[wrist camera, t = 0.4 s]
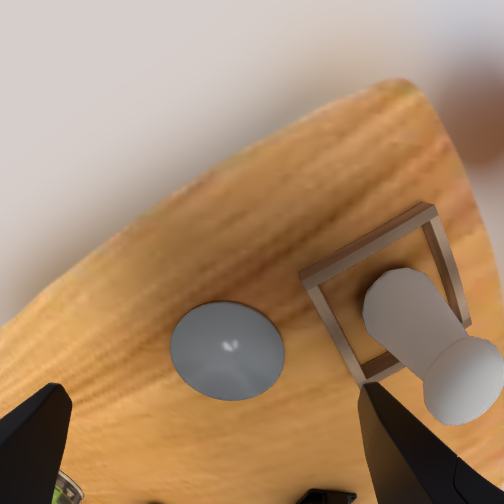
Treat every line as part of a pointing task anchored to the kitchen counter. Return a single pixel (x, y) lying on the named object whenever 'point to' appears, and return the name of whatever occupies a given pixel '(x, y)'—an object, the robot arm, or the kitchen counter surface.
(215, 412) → the kitchen counter surface
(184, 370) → the coaster
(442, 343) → the salt shaker
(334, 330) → the square wooden frame
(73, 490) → the coffee can
